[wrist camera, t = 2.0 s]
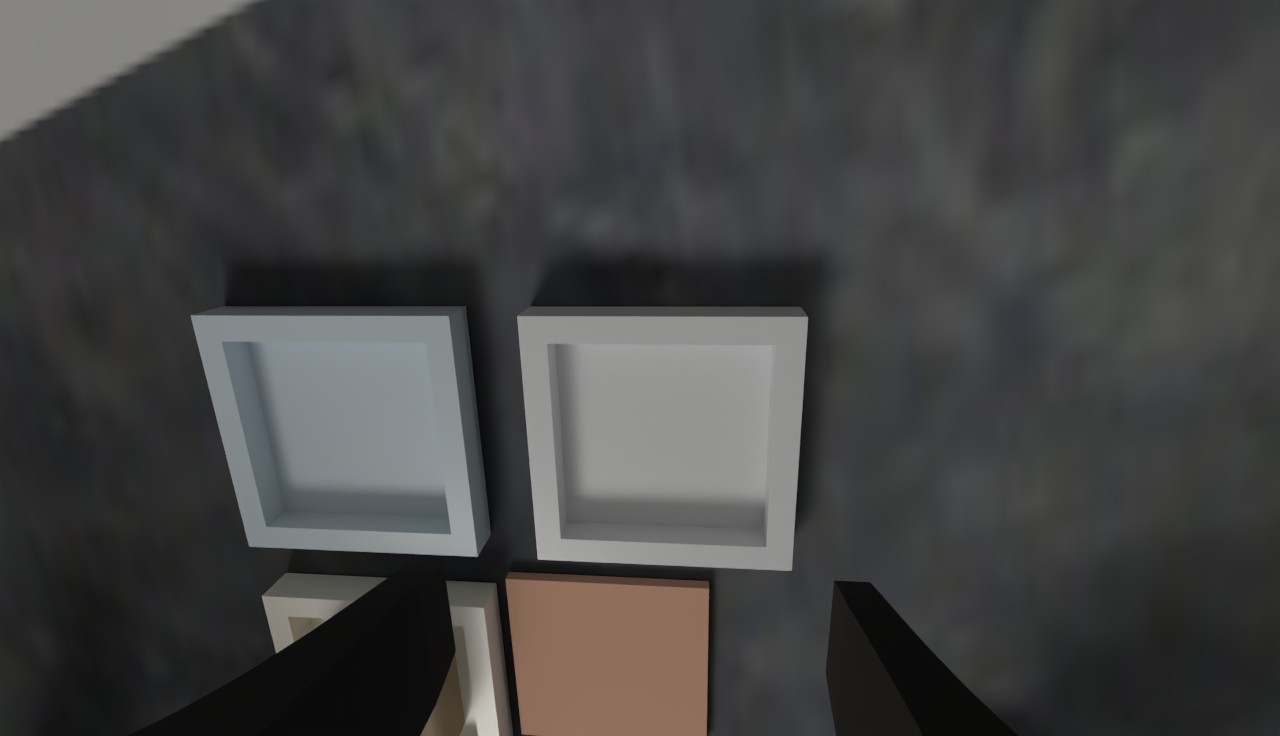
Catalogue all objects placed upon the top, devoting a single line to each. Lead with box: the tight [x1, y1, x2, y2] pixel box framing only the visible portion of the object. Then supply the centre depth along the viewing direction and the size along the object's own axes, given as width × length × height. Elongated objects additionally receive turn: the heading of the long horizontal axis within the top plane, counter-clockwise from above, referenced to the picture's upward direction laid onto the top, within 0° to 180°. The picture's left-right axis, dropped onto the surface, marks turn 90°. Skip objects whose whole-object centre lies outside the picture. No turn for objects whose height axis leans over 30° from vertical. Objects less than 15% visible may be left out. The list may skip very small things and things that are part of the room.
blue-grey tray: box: [191, 306, 491, 557], centre depth 19 cm, size 8×8×1 cm
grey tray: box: [517, 307, 808, 571], centre depth 18 cm, size 8×8×1 cm
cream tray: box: [262, 573, 513, 736], centre depth 23 cm, size 8×8×1 cm
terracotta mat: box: [505, 572, 709, 736], centre depth 22 cm, size 7×7×1 cm
